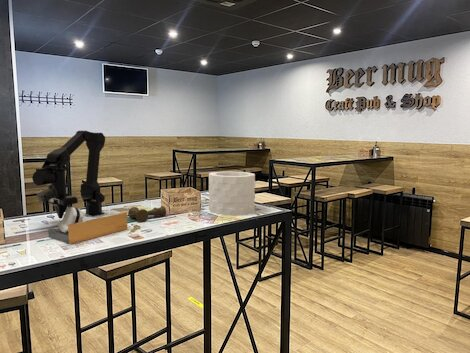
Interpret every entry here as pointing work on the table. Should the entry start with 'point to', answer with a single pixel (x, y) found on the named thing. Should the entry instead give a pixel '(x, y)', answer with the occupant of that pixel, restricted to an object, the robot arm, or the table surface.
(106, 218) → the wooden rectangular panel
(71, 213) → the hinge
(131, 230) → the brass key
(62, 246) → the table surface
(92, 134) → the robot arm
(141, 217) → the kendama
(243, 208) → the basket
